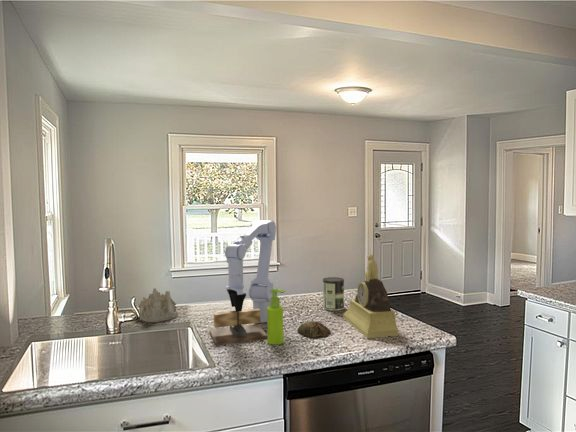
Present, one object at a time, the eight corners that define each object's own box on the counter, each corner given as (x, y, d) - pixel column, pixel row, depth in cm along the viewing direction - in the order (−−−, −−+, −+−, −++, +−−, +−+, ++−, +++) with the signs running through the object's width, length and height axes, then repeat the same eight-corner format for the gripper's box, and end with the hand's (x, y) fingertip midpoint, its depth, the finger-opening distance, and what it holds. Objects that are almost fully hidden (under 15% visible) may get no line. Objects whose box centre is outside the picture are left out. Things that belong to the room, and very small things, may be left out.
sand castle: (181, 317, 196) (178, 284, 196) (145, 325, 187) (142, 290, 186) (169, 311, 209) (167, 281, 208) (135, 319, 199) (132, 287, 199)
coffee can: (343, 305, 214) (342, 276, 213) (345, 310, 203) (345, 281, 202) (322, 305, 214) (321, 277, 213) (323, 311, 203) (323, 281, 203)
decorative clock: (343, 318, 192) (342, 251, 190) (370, 316, 194) (369, 250, 193) (367, 338, 164) (366, 260, 163) (398, 336, 167) (398, 259, 165)
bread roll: (294, 331, 175) (294, 319, 175) (321, 326, 180) (321, 315, 180) (308, 340, 164) (307, 327, 163) (336, 336, 169) (336, 323, 168)
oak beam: (258, 320, 174) (258, 308, 174) (260, 322, 171) (260, 310, 171) (213, 325, 168) (213, 312, 168) (215, 327, 165) (214, 314, 165)
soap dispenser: (280, 346, 157) (279, 292, 156) (264, 342, 161) (263, 290, 160) (288, 341, 162) (287, 288, 161) (273, 338, 166) (272, 286, 165)
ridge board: (257, 326, 180) (257, 316, 180) (267, 338, 166) (267, 326, 166) (209, 332, 174) (209, 321, 174) (215, 344, 160) (215, 332, 159)
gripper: (222, 272, 175) (223, 305, 176) (229, 278, 161) (230, 314, 162) (239, 271, 177) (240, 303, 178) (247, 277, 164) (248, 312, 164)
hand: (236, 308), depth 170 cm, fingers open, 7 cm apart
